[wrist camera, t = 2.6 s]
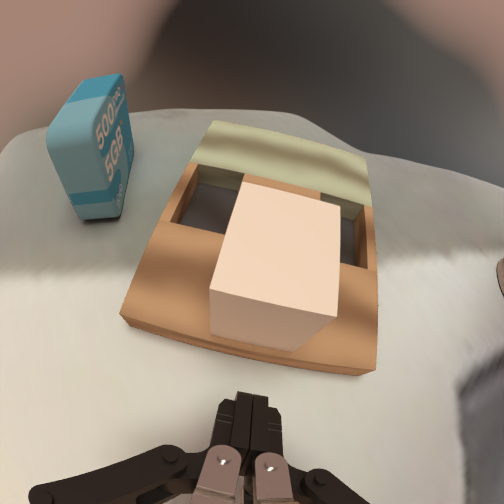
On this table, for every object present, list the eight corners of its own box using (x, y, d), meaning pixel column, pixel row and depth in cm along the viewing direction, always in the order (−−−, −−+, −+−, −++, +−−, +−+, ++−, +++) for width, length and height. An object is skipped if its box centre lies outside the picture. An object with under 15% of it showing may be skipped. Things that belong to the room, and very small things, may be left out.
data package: (120, 223, 27) (88, 126, 17) (82, 226, 26) (41, 136, 16) (135, 150, 33) (123, 68, 23) (103, 154, 32) (85, 75, 22)
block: (292, 352, 19) (336, 316, 12) (210, 334, 19) (209, 288, 12) (304, 269, 23) (340, 206, 16) (232, 252, 23) (242, 181, 16)
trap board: (358, 375, 22) (375, 370, 19) (129, 325, 21) (119, 313, 19) (356, 173, 36) (365, 157, 33) (212, 138, 35) (213, 119, 33)
